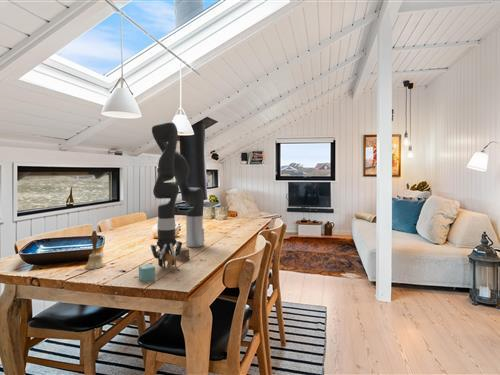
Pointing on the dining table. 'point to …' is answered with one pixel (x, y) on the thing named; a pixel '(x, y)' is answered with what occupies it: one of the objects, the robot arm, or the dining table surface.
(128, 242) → the dining table surface
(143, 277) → the teal block
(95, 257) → the hand bell
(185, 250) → the walnut block
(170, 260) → the lion figurine
